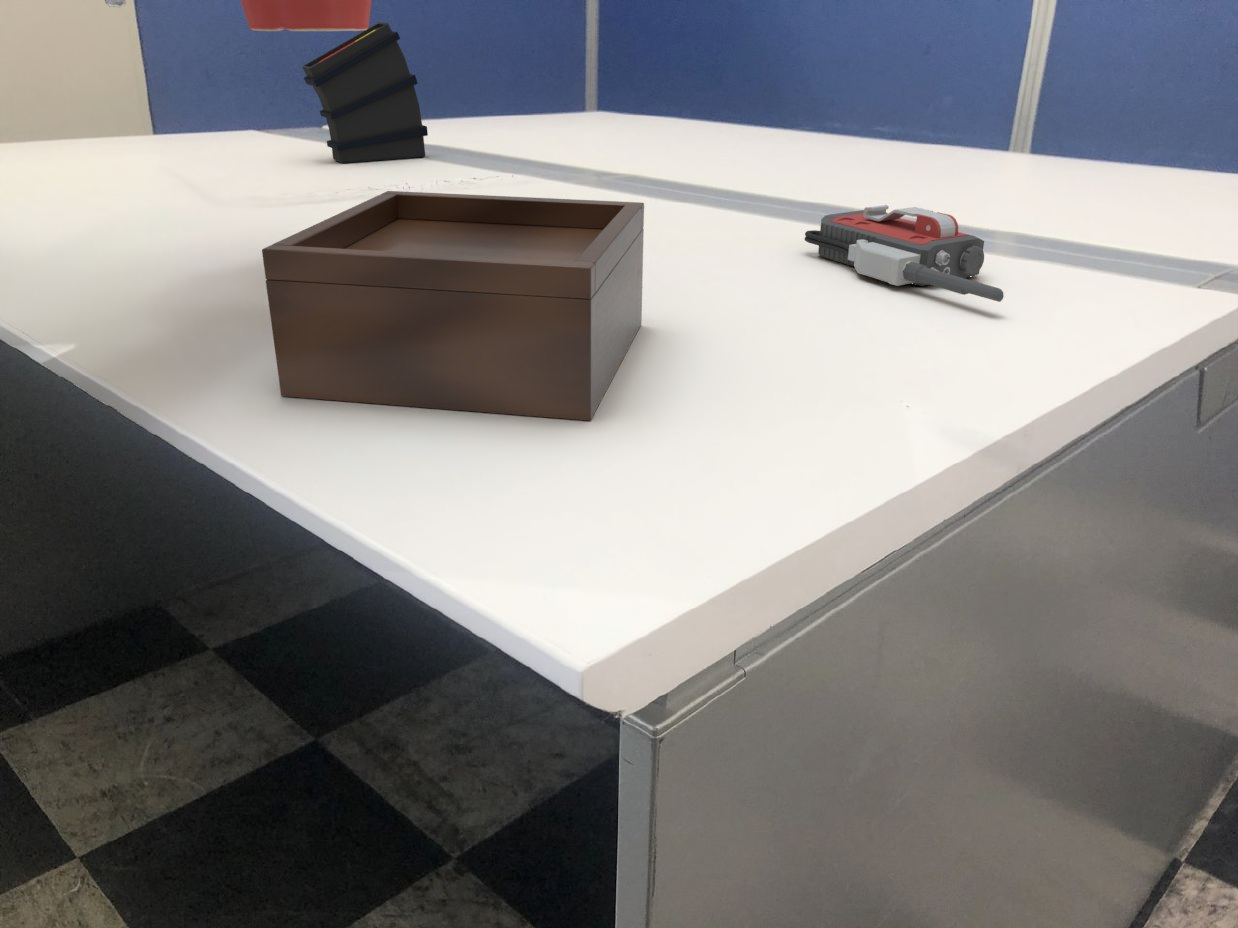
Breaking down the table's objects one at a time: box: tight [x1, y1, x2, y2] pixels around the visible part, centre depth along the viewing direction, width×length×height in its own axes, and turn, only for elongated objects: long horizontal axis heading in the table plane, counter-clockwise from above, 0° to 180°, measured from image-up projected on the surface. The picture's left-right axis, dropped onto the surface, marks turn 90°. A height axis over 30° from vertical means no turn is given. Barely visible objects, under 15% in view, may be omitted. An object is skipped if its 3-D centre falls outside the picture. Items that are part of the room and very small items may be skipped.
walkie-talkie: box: [804, 204, 1004, 303], centre depth 74 cm, size 9×4×20 cm
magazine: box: [301, 21, 429, 164], centre depth 121 cm, size 4×13×15 cm, turn 123°
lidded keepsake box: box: [261, 190, 645, 421], centre depth 56 cm, size 16×16×8 cm
